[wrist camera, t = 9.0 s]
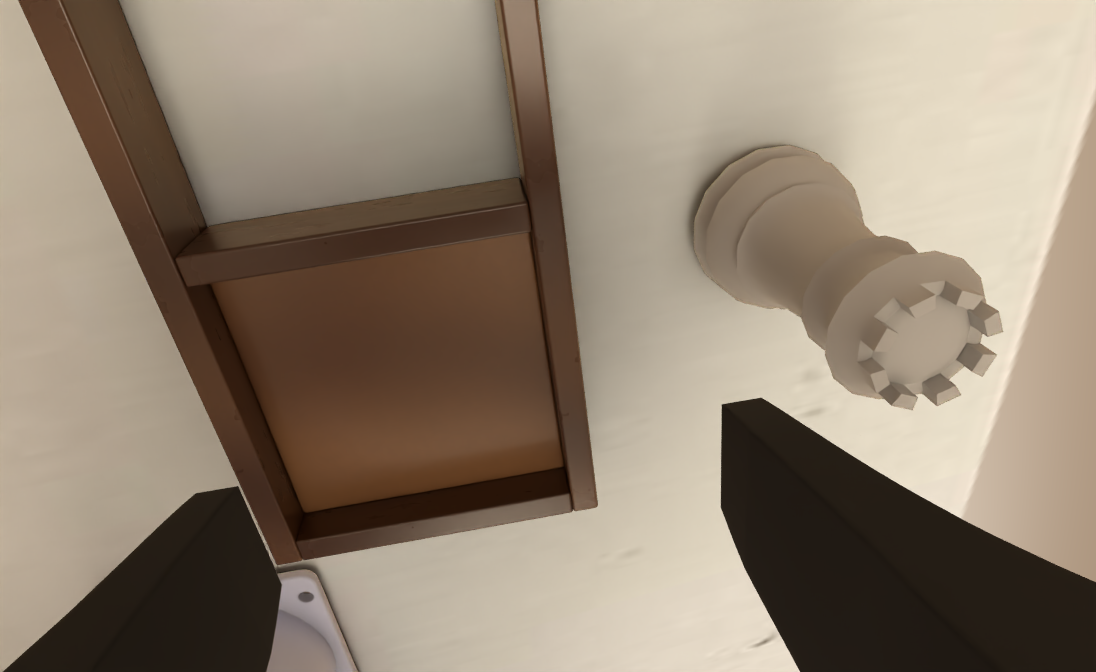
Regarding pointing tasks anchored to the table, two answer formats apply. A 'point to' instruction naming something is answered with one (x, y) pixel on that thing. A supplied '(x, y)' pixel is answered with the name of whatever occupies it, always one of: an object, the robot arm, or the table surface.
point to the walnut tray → (356, 316)
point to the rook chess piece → (843, 277)
